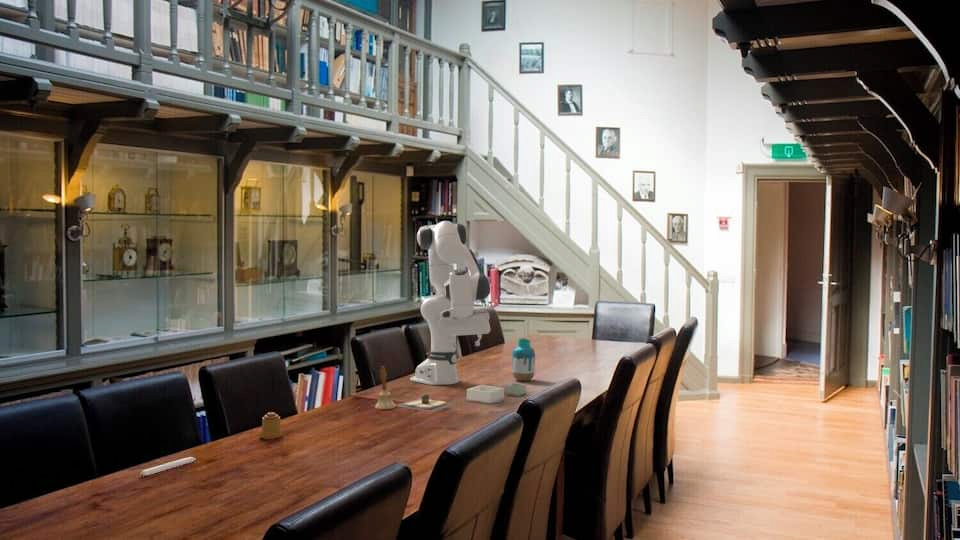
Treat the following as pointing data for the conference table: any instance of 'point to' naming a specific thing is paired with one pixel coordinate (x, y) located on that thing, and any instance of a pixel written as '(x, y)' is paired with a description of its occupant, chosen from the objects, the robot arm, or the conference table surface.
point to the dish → (485, 394)
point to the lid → (425, 403)
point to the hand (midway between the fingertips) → (465, 346)
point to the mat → (425, 409)
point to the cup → (515, 389)
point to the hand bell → (384, 393)
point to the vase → (523, 360)
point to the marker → (167, 466)
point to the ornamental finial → (271, 426)
